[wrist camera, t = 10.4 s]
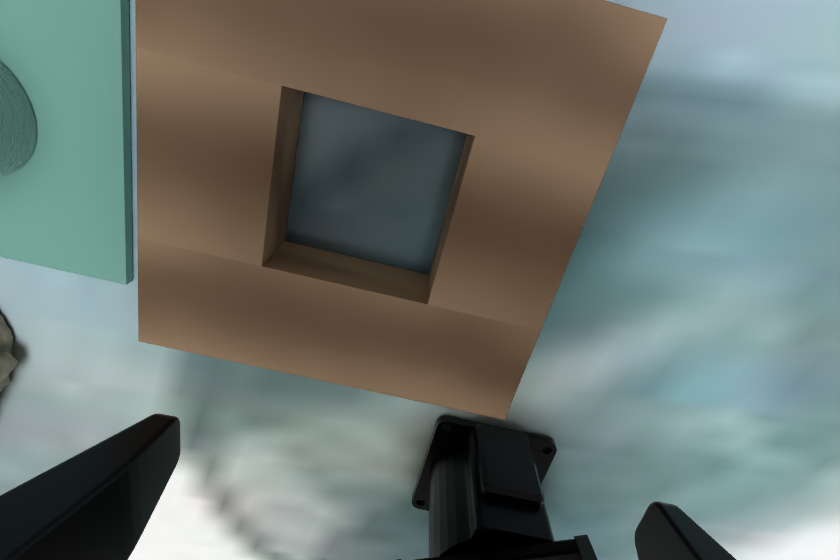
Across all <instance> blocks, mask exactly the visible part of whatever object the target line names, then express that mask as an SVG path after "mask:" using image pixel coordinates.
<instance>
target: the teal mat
mask: <svg viewBox="0 0 840 560" xmlns="http://www.w3.org/2000/svg"><path fill="white" fill-rule="evenodd" d="M0 62H1V63H2V64H3V65H4V66H5V67H6V68H7V69H8V70H9V71H10V72H11V74H12V75H13V76H14V77H15V79H16V80H17V81H18V83H19V84H20V86H21V87H22V89H23V91H24V93H25V94H26V96H27V98H28V101H29V103H30V105H31V108H32V111H33V114H34V119H35V124H36V142H35V147H34V150H33V153H32V155H31V157H30V158H29V160H28V161H27V163H26V164H25V165H24V166H23V167H21V168H20V169H19V170H17V171H15V172H13V173H11V174H7V175H4V176H0V257H5V258H9V259H14V260H18V261H23V262H27V263H31V264H36V265H40V266H45V267H49V268H54V269H58V270H63V271H67V272H72V273H76V274H81V275H85V276H90V277H94V278H99V279H103V280H108V281H112V282H117V283H121V284H128V283H129V282H131V281H132V280H133V257H132V187H131V116H130V46H129V0H0Z"/></svg>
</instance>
